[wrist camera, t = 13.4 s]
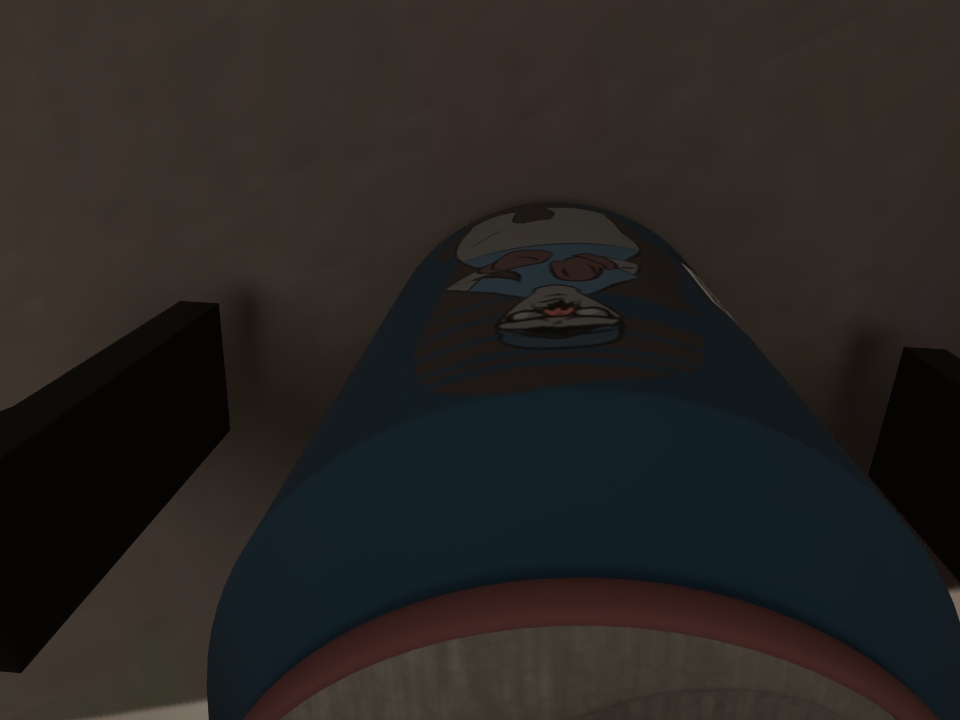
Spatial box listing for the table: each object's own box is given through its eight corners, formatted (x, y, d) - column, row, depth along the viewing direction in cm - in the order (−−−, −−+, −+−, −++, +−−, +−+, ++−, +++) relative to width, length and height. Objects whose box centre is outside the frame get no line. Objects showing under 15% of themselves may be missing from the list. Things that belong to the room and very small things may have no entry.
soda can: (516, 531, 18) (490, 1266, 7) (334, 317, 16) (-99, 834, 5) (766, 380, 16) (1292, 1057, 5) (589, 122, 14) (784, 262, 3)
